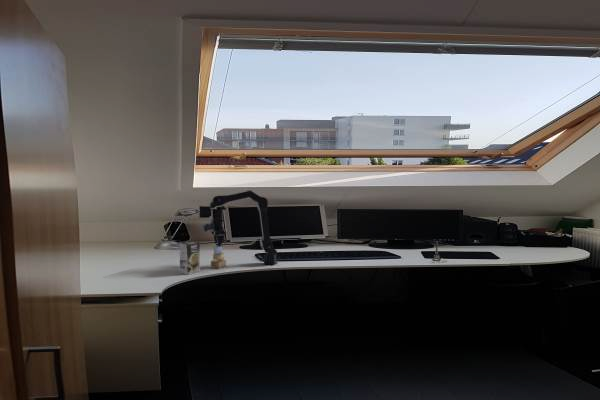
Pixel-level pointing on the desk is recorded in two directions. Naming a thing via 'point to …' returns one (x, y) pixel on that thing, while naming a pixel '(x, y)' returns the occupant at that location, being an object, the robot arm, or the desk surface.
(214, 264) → the base block
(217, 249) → the cylinder
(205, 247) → the desk surface
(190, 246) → the coffee box
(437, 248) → the eiffel tower figurine
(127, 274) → the desk surface
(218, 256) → the top block
